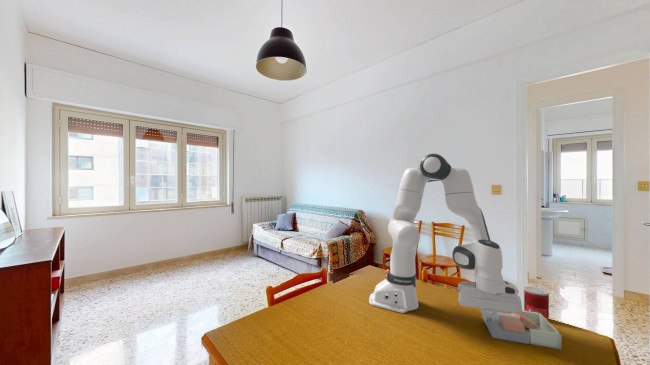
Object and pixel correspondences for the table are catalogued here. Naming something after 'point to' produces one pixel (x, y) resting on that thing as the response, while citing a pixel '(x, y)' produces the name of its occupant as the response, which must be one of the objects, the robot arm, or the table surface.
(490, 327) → the shallow grey tray
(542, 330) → the bin
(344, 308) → the table surface
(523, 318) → the tile
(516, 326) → the tile
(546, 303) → the canned food
